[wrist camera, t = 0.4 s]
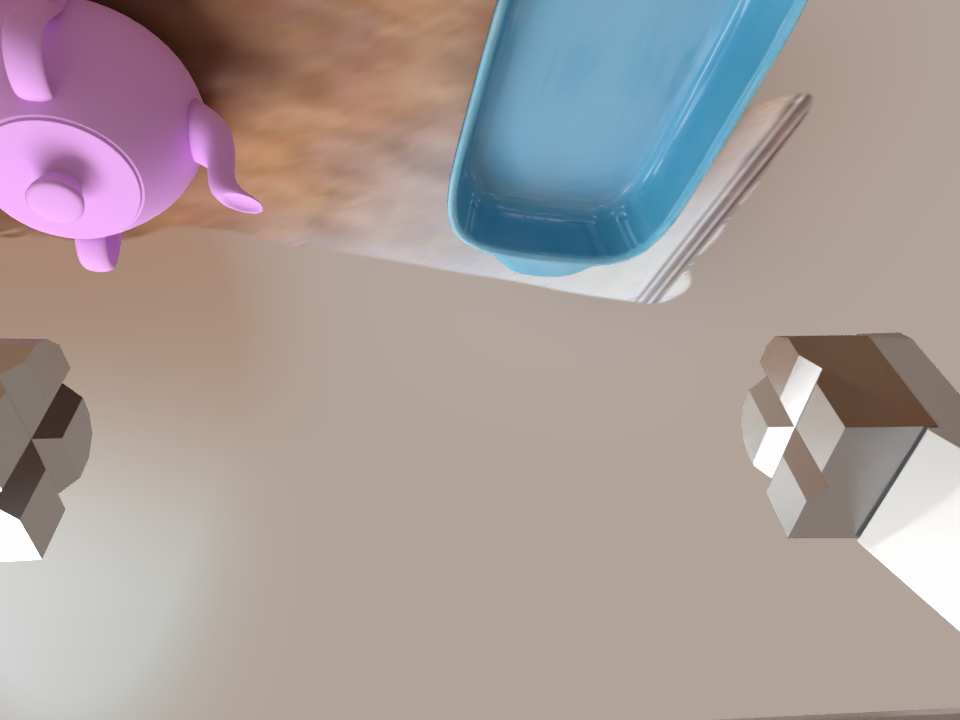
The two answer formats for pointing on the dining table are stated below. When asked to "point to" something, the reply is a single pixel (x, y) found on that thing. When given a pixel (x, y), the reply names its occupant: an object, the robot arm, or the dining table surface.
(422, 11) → the dining table surface
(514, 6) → the casserole dish
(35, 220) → the teapot
